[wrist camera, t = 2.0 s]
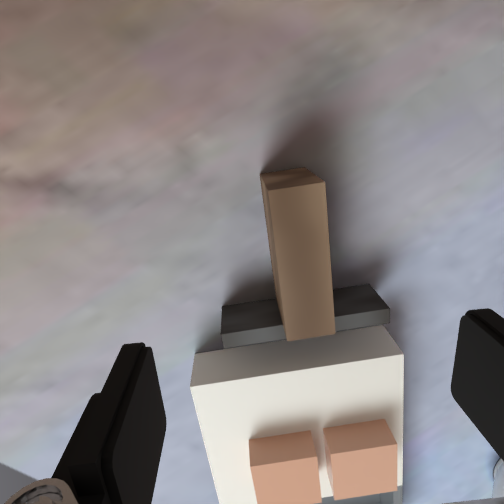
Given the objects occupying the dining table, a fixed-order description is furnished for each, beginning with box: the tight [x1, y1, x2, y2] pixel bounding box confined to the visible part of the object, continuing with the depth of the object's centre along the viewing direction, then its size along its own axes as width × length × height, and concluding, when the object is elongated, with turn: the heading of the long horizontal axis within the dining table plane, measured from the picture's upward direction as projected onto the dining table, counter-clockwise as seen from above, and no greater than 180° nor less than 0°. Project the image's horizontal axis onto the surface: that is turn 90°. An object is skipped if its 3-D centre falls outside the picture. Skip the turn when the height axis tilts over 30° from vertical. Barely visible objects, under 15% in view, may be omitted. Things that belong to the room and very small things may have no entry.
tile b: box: [249, 430, 322, 504], centre depth 29 cm, size 5×5×2 cm
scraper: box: [221, 167, 390, 349], centre depth 25 cm, size 12×11×6 cm
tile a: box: [323, 419, 397, 500], centre depth 29 cm, size 5×5×2 cm
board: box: [190, 325, 404, 504], centre depth 31 cm, size 16×14×4 cm
